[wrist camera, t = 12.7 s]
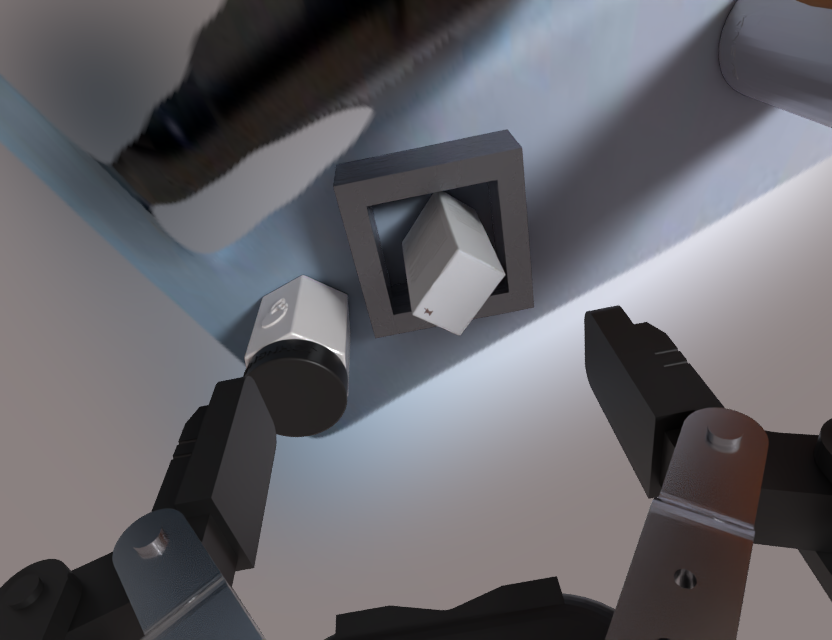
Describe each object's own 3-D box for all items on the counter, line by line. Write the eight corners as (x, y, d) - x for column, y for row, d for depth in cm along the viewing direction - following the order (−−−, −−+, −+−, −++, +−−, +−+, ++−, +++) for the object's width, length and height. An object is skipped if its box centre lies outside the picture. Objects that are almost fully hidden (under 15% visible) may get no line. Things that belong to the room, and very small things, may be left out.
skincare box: (440, 263, 50) (459, 339, 40) (400, 242, 49) (409, 316, 39) (478, 208, 48) (508, 275, 38) (436, 184, 46) (456, 247, 36)
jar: (322, 260, 49) (311, 337, 39) (370, 324, 53) (371, 409, 43) (241, 305, 51) (211, 390, 41) (294, 363, 55) (279, 453, 45)
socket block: (507, 129, 44) (522, 147, 40) (520, 279, 52) (534, 307, 48) (336, 164, 45) (333, 186, 40) (374, 307, 52) (375, 338, 48)
